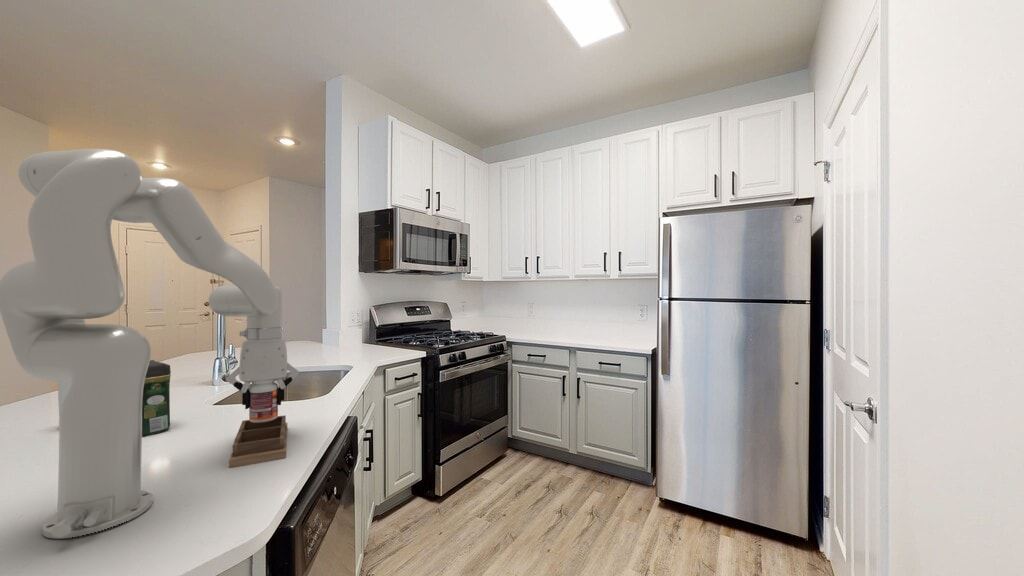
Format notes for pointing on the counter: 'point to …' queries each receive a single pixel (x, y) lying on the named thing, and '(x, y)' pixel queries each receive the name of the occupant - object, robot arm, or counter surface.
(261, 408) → the pill bottle
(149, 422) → the coffee jar
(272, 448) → the caddy
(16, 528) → the counter surface
